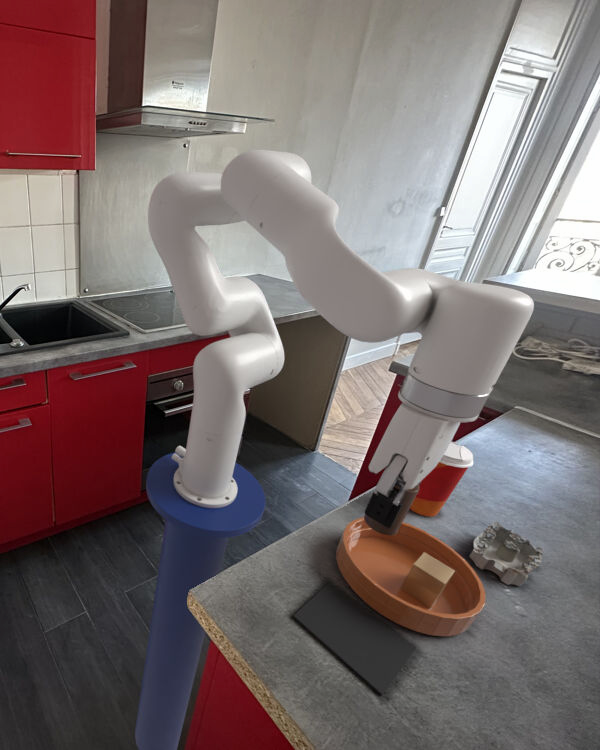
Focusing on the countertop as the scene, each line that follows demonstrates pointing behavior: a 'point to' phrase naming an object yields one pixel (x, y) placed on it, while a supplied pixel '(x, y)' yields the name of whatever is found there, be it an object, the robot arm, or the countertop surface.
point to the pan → (390, 568)
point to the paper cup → (442, 480)
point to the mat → (355, 636)
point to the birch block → (427, 579)
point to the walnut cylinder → (407, 503)
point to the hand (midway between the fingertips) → (386, 511)
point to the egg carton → (505, 554)
